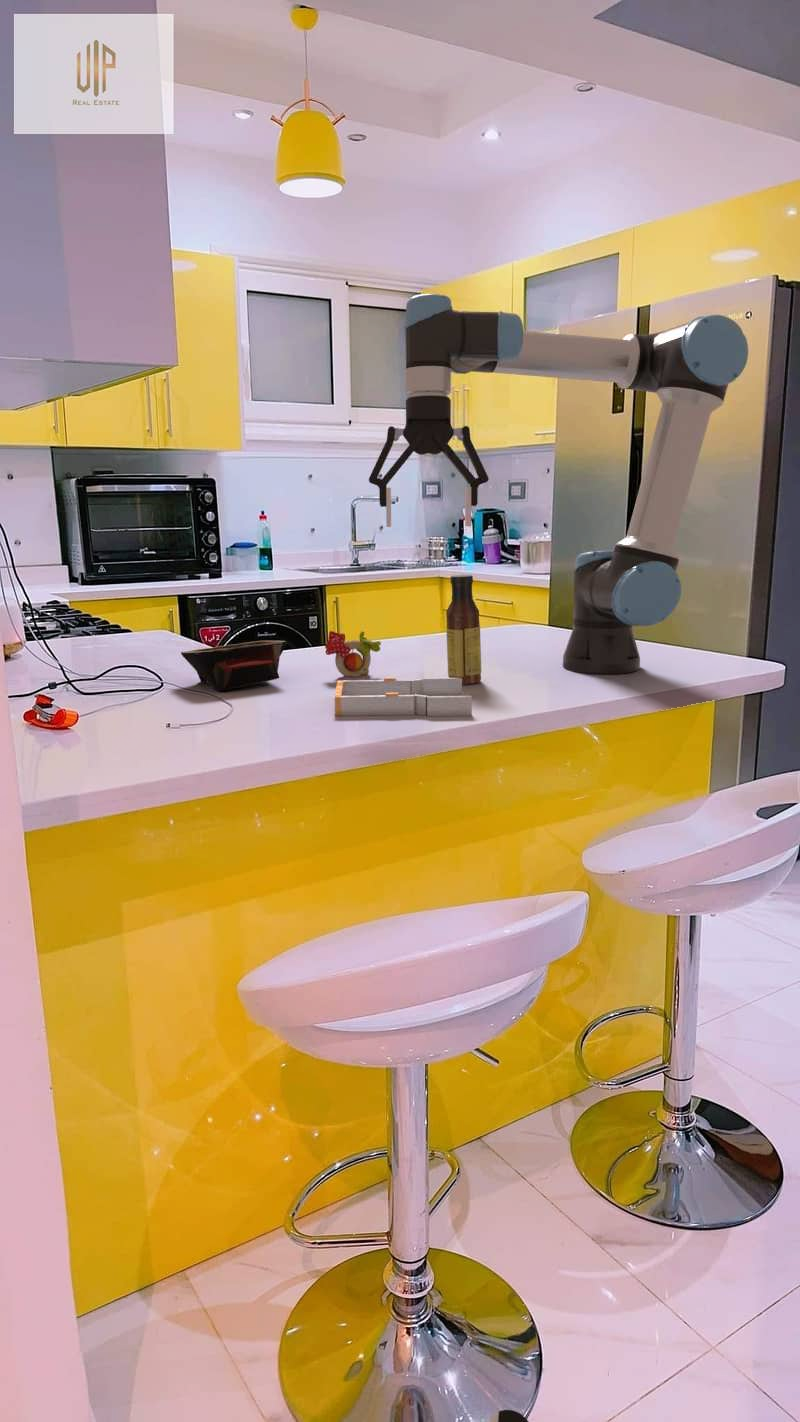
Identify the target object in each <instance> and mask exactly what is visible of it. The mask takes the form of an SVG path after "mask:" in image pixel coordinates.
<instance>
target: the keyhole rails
mask: <svg viewBox="0 0 800 1422" xmlns="http://www.w3.org/2000/svg"><path fill="white" fill-rule="evenodd" d="M472 699H473V696H472V695H463V685H462V678H449V677H421V678H417V679H397V678H396V677H395V676H394V677H383V679H369V680H368V679H356V680H355V679H353V680H352V679H349V680H348V679H347V680H344V679H343V680H337V682H336V688H335V693H334V716H335V717H337V716H338V717H342V716H343V717H345V716H347V717H348V716H349V717H352V716H353V717H354V716H406V715H407V716H413V715H419V716H420V715H421V716H427V717H464V716H465V717H466V716H468V717H469V716H473V712H472V711H473V700H472Z"/></svg>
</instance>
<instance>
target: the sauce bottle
mask: <svg viewBox="0 0 800 1422" xmlns="http://www.w3.org/2000/svg"><path fill="white" fill-rule="evenodd" d="M473 583H474V578H473V575H472V574H454V575H450V584H451V602H450V604H449V605H448V606H447V609H446V612H445V616H446V628H445V630H446V650H447V652H446V656H447V658H446V659H447V676H448V678H462V686H466V685H469V686H470V685H477V684H479V683H480V682H481V680H482V676H481V675H482V649H481V648H482V647H481V624H480V610H479V609H478V607H477V605H476V602H475V601H474V596H473Z"/></svg>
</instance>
